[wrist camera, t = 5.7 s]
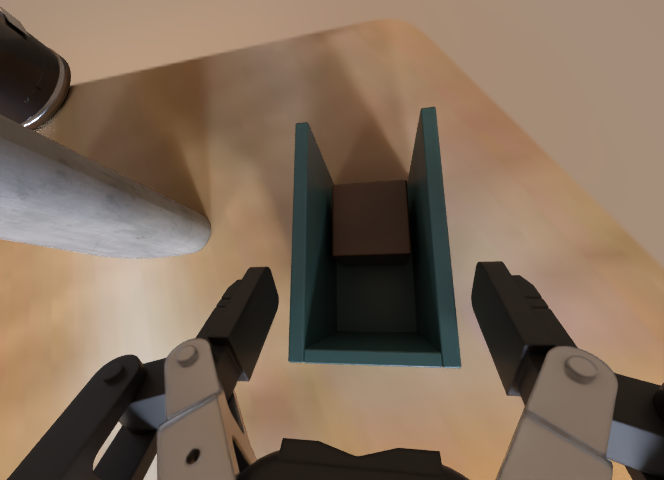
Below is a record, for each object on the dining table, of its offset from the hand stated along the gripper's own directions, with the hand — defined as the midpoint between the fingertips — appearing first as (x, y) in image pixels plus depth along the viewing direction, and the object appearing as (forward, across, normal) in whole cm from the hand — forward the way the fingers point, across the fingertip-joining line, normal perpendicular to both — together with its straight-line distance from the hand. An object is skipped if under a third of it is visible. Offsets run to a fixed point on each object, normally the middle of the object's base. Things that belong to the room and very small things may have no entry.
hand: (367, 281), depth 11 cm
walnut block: (+7, 0, +2) cm, 8 cm away
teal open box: (+6, 0, +4) cm, 7 cm away
